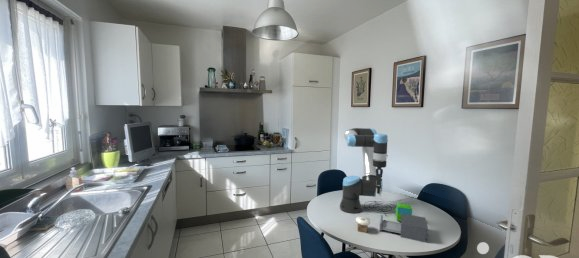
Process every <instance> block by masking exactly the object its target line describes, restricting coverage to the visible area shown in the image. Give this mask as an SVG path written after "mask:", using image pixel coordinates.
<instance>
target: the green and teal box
mask: <svg viewBox="0 0 579 258" xmlns="http://www.w3.org/2000/svg"><path fill="white" fill-rule="evenodd" d="M394 210H395V217H396V222H401V213H402V214H407V215H413V208H412V205H411V204H404V203H396V207H395V208H394Z"/></svg>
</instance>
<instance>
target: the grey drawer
mask: <svg viewBox="0 0 579 258" xmlns="http://www.w3.org/2000/svg"><path fill="white" fill-rule="evenodd" d="M379 231H380V232H383V231H386V232H393V233H396V234H397V233H398V234H400V235H401V222H399V221H392V220H386V219H384V215H380V221H379Z"/></svg>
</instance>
